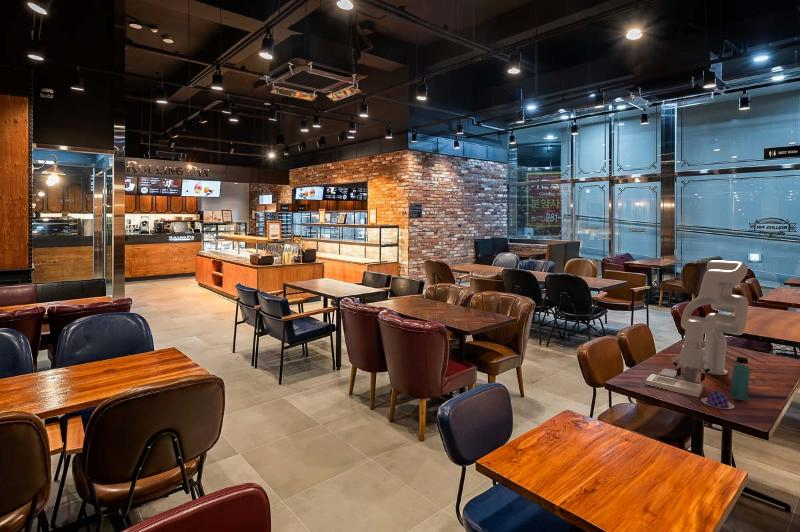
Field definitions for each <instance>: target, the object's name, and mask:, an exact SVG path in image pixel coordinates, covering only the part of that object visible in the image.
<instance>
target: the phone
mask: <svg viewBox="0 0 800 532" xmlns="http://www.w3.org/2000/svg"><path fill="white" fill-rule="evenodd" d="M657 375H661V376H665V377H669V378H674V379H676V377H677V376H678V374H677V370H675V369H671V368H670V369H669V368H663V369H662V370H661V371H660V372H658V374H657Z"/></svg>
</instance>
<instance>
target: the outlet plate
mask: <svg viewBox="0 0 800 532" xmlns="http://www.w3.org/2000/svg"><path fill="white" fill-rule="evenodd" d="M645 384H647V385H646V386H648V385H651V386H650V387H652V386H655V387H654V388H657V387H659V388H658V389H661V388H663V389H662V390H665V389H667V390H666V391H670V392H675V393H680V394H684V395H688V396H692V397H696V398H699V397H700V396H701V394H702V392H703V390H704V384H701V383H697V382H696V383H692V382H687V381H684V379H683V380H682V379H678V378H669V377H664V376H660V375H658V374H655V373H651V374H650V375H649V376H648V377H647V378H646V379H645Z"/></svg>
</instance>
